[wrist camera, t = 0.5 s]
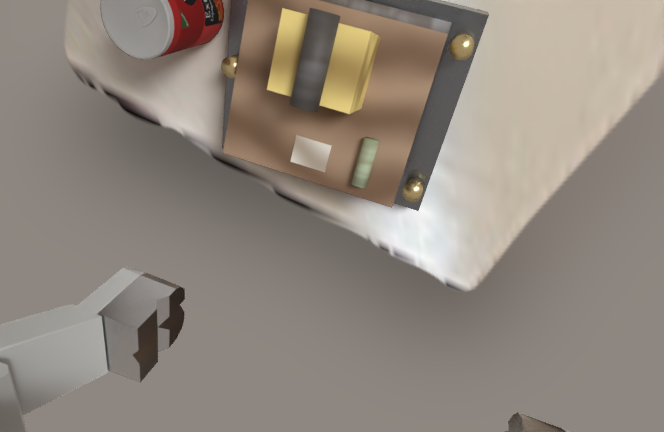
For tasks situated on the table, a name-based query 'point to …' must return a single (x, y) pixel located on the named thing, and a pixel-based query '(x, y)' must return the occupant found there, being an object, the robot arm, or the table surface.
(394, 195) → the level plate
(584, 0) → the table surface
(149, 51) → the canned food
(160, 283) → the robot arm
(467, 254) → the table surface
